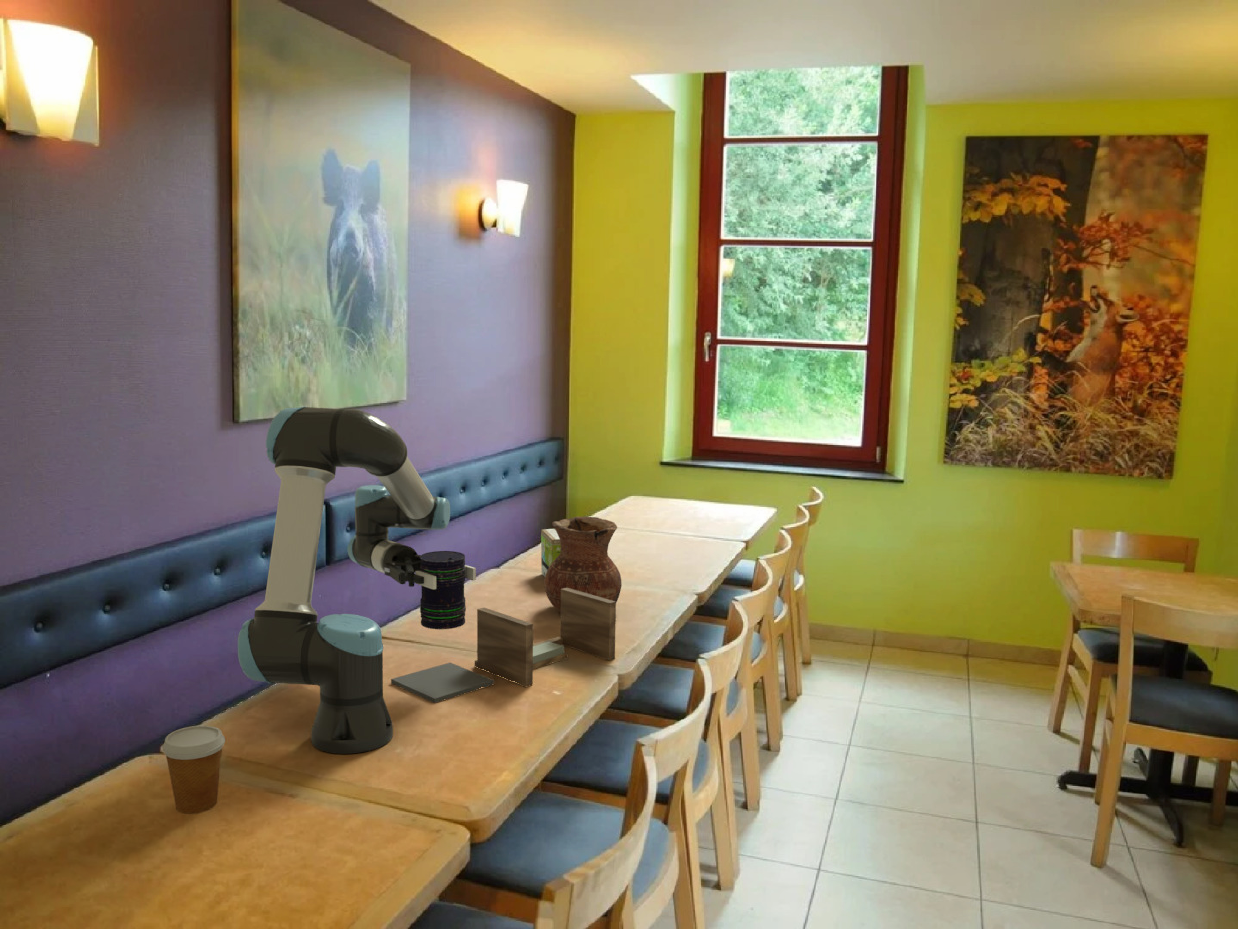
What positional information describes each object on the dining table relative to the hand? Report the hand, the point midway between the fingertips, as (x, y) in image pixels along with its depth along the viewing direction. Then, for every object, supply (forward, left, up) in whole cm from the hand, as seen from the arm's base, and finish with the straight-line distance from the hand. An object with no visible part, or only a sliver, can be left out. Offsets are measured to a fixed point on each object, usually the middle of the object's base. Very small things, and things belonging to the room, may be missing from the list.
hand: (454, 578), depth 222 cm
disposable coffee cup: (-64, -14, -25) cm, 70 cm away
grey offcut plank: (+25, +1, -23) cm, 35 cm away
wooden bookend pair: (+25, -1, -25) cm, 35 cm away
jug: (+61, +24, -25) cm, 70 cm away
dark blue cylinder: (0, +4, -11) cm, 12 cm away
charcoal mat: (-1, +4, -25) cm, 25 cm away
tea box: (+80, +53, -25) cm, 99 cm away
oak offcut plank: (+25, +1, -25) cm, 36 cm away
